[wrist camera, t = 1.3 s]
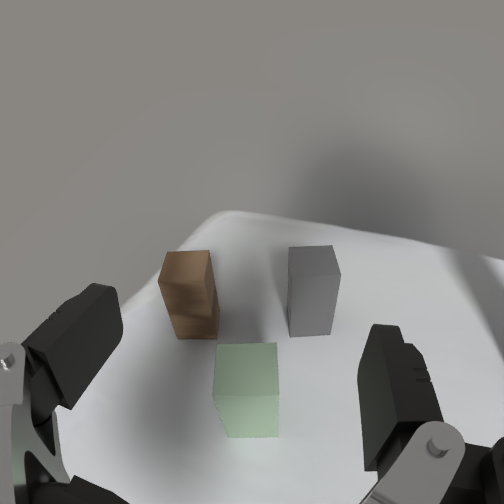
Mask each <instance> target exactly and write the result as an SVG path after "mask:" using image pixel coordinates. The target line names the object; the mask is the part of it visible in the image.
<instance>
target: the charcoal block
mask: <svg viewBox="0 0 504 504" xmlns="http://www.w3.org/2000/svg"><path fill="white" fill-rule="evenodd" d="M340 278H341V273H340V269H339V266H338V263H337V259H336V256H335V253H334V249H333V246H332V245H330V246H304V247H289V262H288V301H287V309H288V320H289V331H290V337H304V336H320V335H330V333H331V328H332V323H333V318H334V312H335V307H336V302H337V296H338V290H339V284H340Z"/></svg>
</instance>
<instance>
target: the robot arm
mask: <svg viewBox="0 0 504 504" xmlns="http://www.w3.org/2000/svg"><path fill="white" fill-rule="evenodd" d="M122 335H123V323H122V318H121V313H120V307H119V302H118V296H117V292H116V289H115V288H114V287H112V286H106V285H102V284H96V283H92V284H90V285H89V286H88V287H87V288H86V289H85V290H84V291H82V292H81V293H80V294H79V295H77V296H75V297H73V298H71V299H69V300H67V301H65V302H64V303H63V304H62V305H61V306H60V307H59V308H58V309H57V310H56V312H53V313H52V314H51V315H50V316H49V319H46V320H45V321H44V322H43V323H42V324H41V325H40V326H39V327H38V328H37V329H36V330H35V331H34V332H33V333H32V334H31V335H30V336H29V337H28V338H27V339H26V340H25V341H24V342H23V343H22V344H18V343H13V342H9V343H4V344H1V345H0V504H129V503H128V502H126V501H125V500H123V499H122V498H120V497H119V496H117V495H116V494H115V493H113V492H111V491H109V490H106V489H104V488H102V487H99V486H97V485H95V484H93V483H90V482H88V481H86V480H84V479H82V478H80V477H78V476H76V475H74V476H73V478H72V480H71V481H70V478H69V476H68V474H67V472H66V470H65V468H64V465H63V461H62V455H61V448H60V441H59V433H58V423H57V415H56V412H55V410H54V409H55V408H56V407H57V405H60V406H63V407H65V408H67V409H69V410H72V408H73V407H74V405H75V404H76V403H77V401H78V400H79V398H80V397H81V395H82V394H83V393H84V391H85V390H86V388H87V387H88V385H89V384H90V383H91V381H92V380H93V378H94V377H95V376H96V374H97V373H98V372H99V370H100V369H101V367H102V366H103V365H104V363H105V362H106V360H107V359H108V358H109V356H110V355H111V354H112V352H113V351H114V350H115V348H116V347H117V346H118V344H119V343H120V341H121V338H122ZM430 380H431V378H430V375H429V373H428V371H427V367H426V364H425V361H424V358H423V355H422V354H421V353H420V352H419V351H418V350H417V349H416V347H415V346H414V345H413V344H410V343H404V340H403V337H402V334H401V331H400V328H399V327H398V326H393V325H380V324H373V326H372V327H371V330H370V333H369V336H368V339H367V342H366V345H365V348H364V351H363V354H362V357H361V360H360V363H359V368H358V375H357V383H358V392H359V402H360V413H361V424H362V437H363V452H364V470H365V471H377V473H378V481H377V482H376V484H375V485H374V486H373V487H372V489H371V490H370V491H369V492H368V493H367V495H366V496H365V497H364V498H363V499H362V501H361V502H360V503H359V504H504V437H502V438H501V439H499V440H498V441H497V442H496V443H495V445H494V446H493V447H492V448H489V447H484V446H478V445H473V444H468V443H465V442H464V439H463V437H462V435H461V434H460V432H459V431H458V430H457V429H456V428H454V427H453V426H451V425H450V424H447V423H445V422H444V420H443V417H442V413H441V410H440V407H439V403H438V400H437V397H436V394H435V391H434V388H433V384H432V382H430Z"/></svg>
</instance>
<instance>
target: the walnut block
mask: <svg viewBox="0 0 504 504" xmlns="http://www.w3.org/2000/svg"><path fill="white" fill-rule="evenodd" d="M158 284H159V287H160V290H161V293H162V296H163V299H164V302H165V305H166V308H167V311H168V313H169V316H170V319H171V322H172V325H173V328H174V330H175V333H176V336H177V338H178V339H217V331H218V321H219V311H220V309H219V303H218V298H217V292H216V287H215V281H214V276H213V270H212V264H211V258H210V252H209V250H203V251H179V252H167V254H166V257H165V260H164V263H163V266H162V269H161V272H160V275H159V279H158Z"/></svg>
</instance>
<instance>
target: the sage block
mask: <svg viewBox="0 0 504 504" xmlns="http://www.w3.org/2000/svg"><path fill="white" fill-rule="evenodd" d="M212 396H213V399H214V402H215V405H216V408H217V410H218V413H219V416H220V418H221V421H222V424H223V426H224V429H225V432H226V434H227V437H228V438H267V437H278V417H279V379H278V359H277V343H247V344H217V348H216V359H215V370H214V382H213V394H212Z"/></svg>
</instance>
